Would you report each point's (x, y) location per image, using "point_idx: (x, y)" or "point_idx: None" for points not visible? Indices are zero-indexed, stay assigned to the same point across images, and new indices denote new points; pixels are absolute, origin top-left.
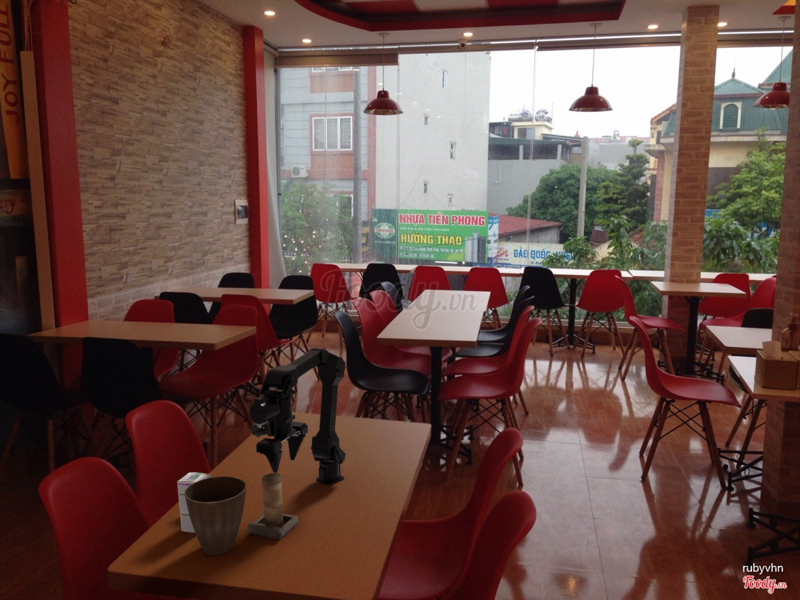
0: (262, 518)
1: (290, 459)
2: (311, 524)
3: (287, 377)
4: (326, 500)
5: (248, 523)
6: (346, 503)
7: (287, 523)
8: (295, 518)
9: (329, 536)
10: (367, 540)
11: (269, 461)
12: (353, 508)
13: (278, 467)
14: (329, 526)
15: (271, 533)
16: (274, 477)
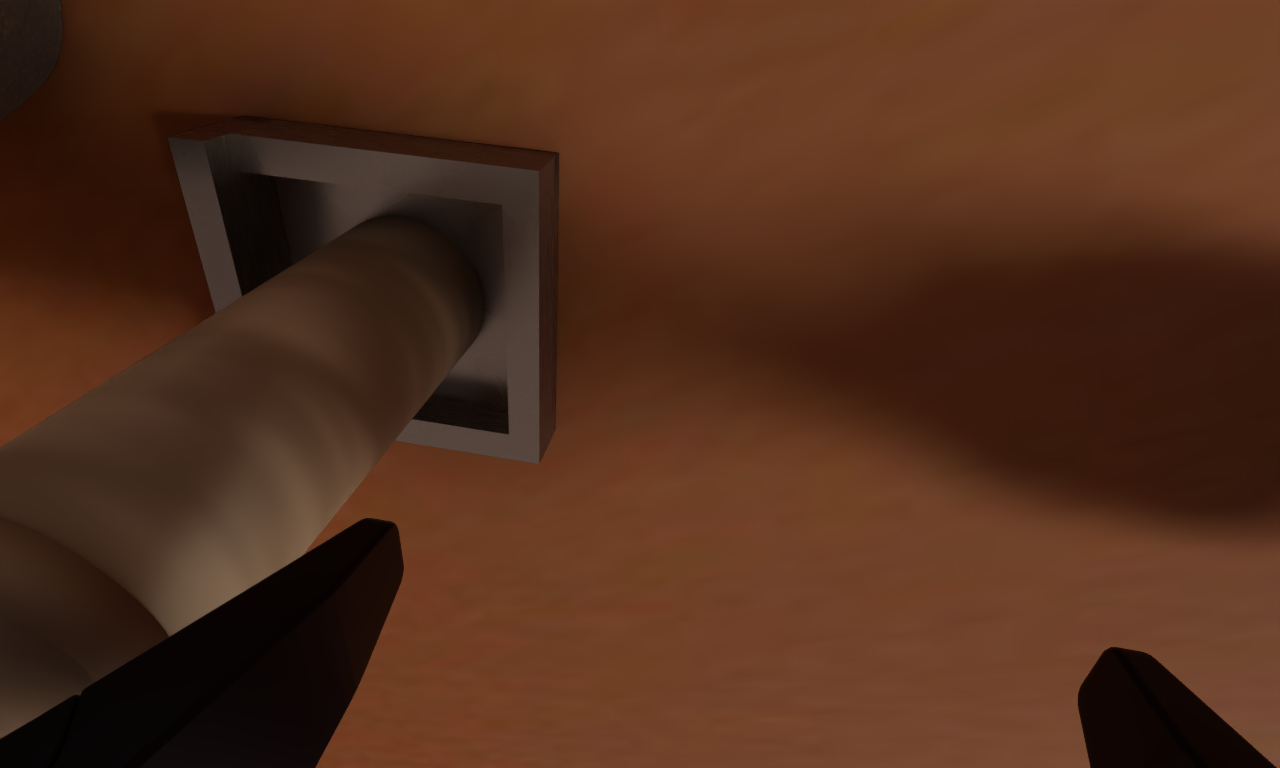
0: (382, 188)
1: (1122, 652)
2: (571, 510)
3: None
4: (978, 516)
5: (168, 140)
6: (929, 641)
7: (408, 426)
8: (499, 457)
9: (478, 624)
10: (516, 760)
11: (39, 743)
12: (854, 683)
13: (334, 705)
14: (584, 605)
15: None
16: (4, 717)
